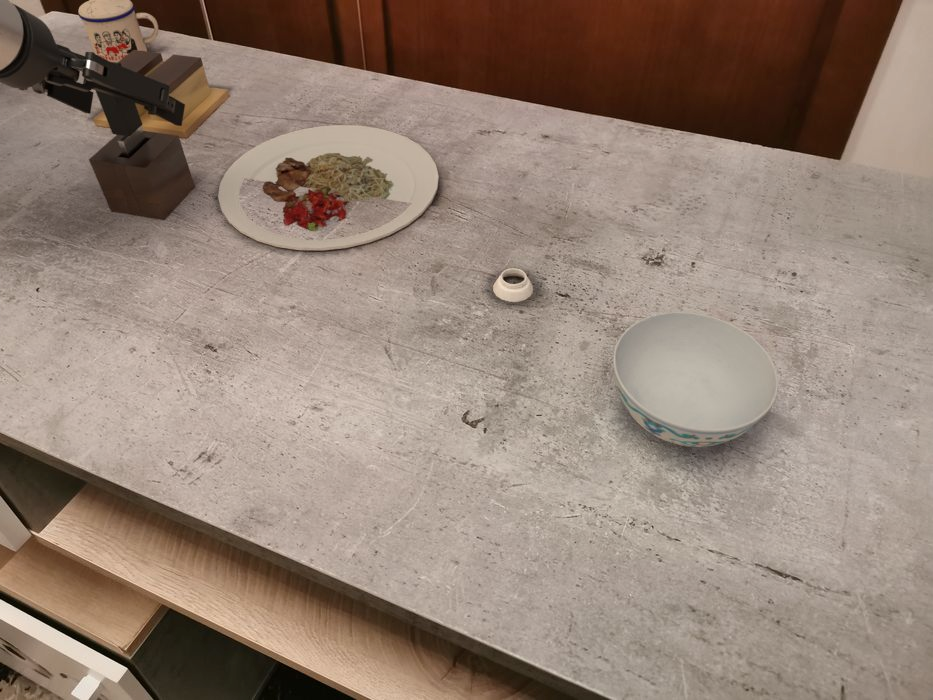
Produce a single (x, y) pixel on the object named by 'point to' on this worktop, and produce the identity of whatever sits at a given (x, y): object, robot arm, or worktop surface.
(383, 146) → the plated food
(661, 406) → the chinaware
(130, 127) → the cake knife
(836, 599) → the worktop surface
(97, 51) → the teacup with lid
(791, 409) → the worktop surface
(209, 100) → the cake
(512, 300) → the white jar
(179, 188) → the knife block
